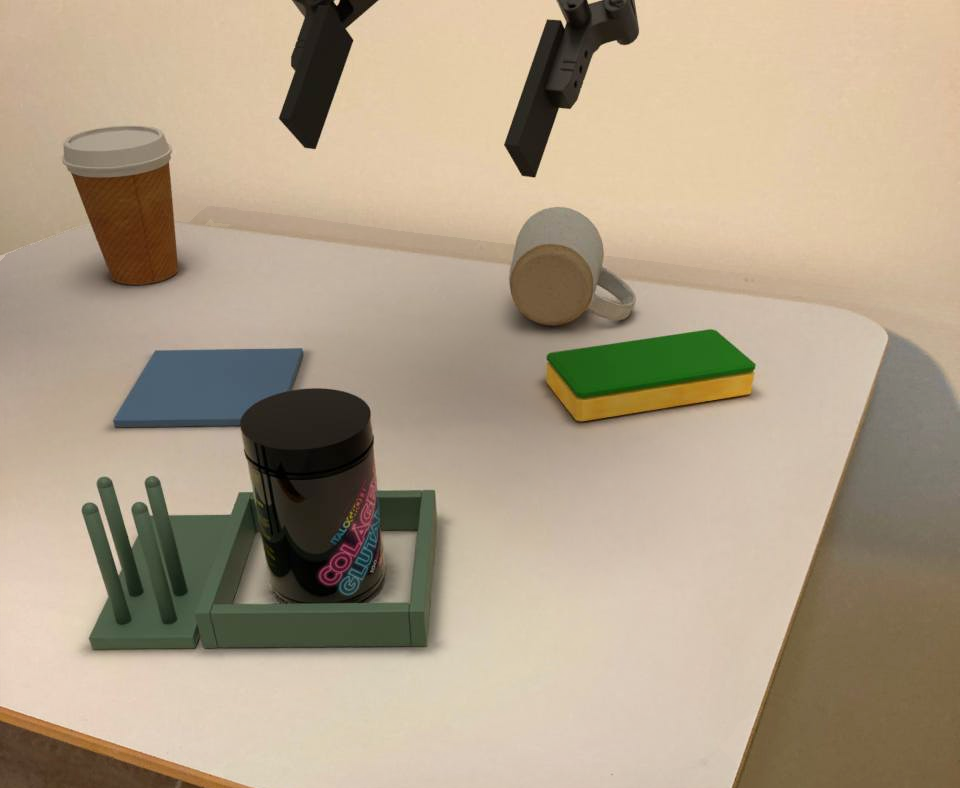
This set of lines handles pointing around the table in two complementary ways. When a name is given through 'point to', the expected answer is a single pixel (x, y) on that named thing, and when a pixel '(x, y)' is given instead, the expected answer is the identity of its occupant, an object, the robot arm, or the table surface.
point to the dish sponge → (648, 374)
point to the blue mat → (206, 386)
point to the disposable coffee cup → (127, 199)
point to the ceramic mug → (564, 270)
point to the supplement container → (316, 494)
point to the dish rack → (237, 581)
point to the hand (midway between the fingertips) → (402, 148)
